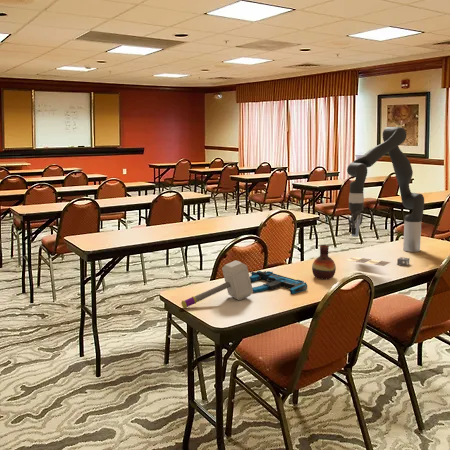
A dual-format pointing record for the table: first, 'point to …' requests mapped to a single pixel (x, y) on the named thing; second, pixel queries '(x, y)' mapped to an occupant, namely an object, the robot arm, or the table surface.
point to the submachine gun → (277, 282)
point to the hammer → (228, 284)
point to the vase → (323, 265)
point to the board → (363, 260)
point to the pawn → (357, 229)
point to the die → (403, 261)
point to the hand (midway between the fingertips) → (355, 233)
